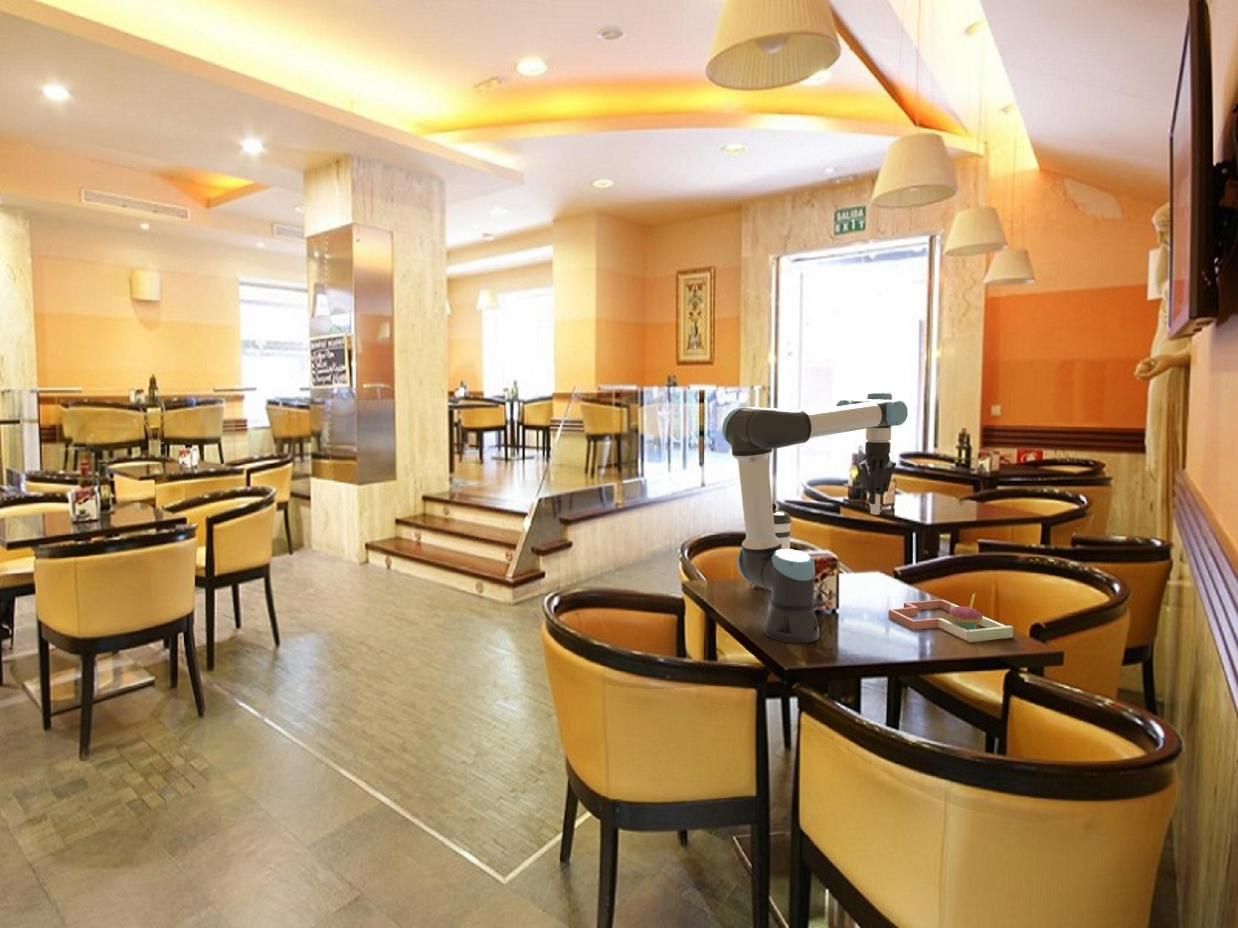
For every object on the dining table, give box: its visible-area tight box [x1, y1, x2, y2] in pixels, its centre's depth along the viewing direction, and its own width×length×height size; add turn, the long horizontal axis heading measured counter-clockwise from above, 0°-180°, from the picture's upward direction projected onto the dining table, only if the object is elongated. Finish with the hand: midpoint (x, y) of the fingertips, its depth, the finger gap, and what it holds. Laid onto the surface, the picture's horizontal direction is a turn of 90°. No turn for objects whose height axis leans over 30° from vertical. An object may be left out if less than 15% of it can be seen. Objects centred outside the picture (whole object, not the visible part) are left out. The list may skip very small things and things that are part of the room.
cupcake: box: [948, 591, 984, 630], centre depth 199 cm, size 9×8×12 cm
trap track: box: [887, 599, 1014, 643], centre depth 205 cm, size 23×28×3 cm
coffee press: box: [749, 503, 793, 590], centre depth 239 cm, size 17×16×30 cm
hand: (874, 513), depth 223 cm, fingers closed
